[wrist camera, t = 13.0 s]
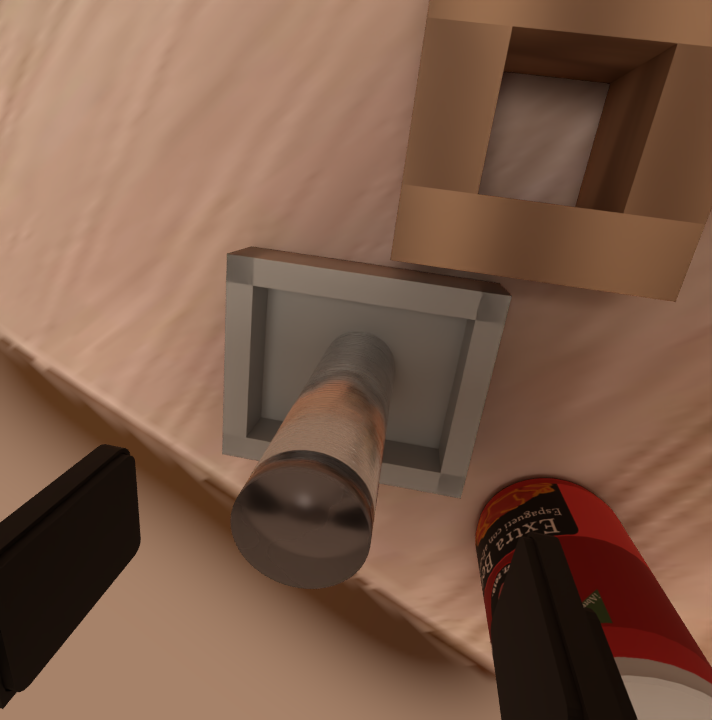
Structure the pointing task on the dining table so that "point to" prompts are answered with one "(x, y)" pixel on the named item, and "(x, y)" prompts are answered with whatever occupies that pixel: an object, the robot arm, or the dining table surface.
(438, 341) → the tray
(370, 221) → the dining table surface
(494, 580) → the canned food
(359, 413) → the pin
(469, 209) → the block
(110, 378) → the dining table surface
